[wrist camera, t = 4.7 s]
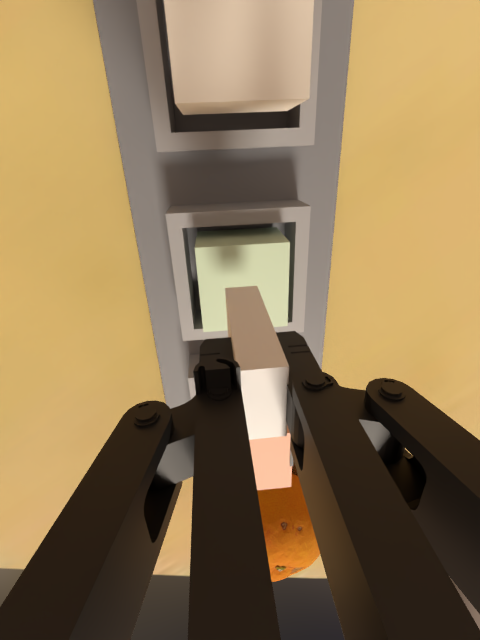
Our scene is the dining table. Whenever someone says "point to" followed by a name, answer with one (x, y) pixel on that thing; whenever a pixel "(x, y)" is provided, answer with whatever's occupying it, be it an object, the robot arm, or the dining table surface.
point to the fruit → (287, 530)
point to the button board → (223, 176)
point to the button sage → (242, 271)
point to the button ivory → (239, 54)
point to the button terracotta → (272, 462)
